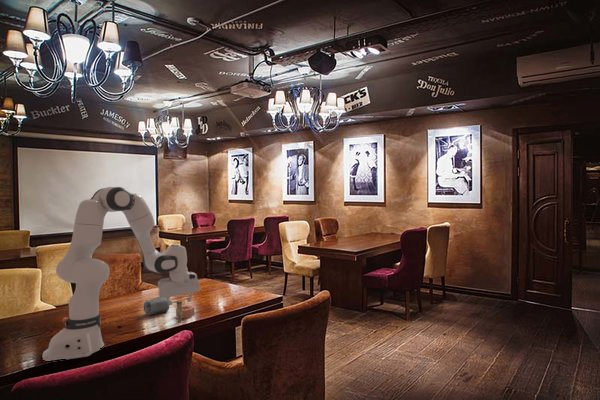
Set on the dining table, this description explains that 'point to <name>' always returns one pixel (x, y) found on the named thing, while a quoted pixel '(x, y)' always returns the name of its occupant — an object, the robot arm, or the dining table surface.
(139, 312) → the dining table surface
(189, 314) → the bead
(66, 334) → the robot arm
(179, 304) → the dowel
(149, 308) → the spool
